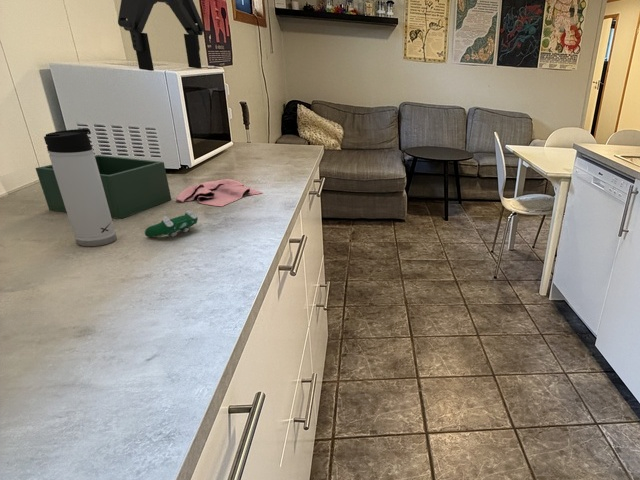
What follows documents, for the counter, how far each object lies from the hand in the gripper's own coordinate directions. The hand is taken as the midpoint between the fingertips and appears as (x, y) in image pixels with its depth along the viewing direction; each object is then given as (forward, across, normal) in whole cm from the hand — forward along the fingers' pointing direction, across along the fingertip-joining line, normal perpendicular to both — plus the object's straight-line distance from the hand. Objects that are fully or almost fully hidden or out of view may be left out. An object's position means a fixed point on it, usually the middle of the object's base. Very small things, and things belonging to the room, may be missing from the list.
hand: (172, 69), depth 99 cm
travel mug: (+28, -28, -2) cm, 40 cm away
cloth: (+29, +8, 0) cm, 31 cm away
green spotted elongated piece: (+28, -19, -11) cm, 36 cm away
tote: (+29, -9, +14) cm, 34 cm away
